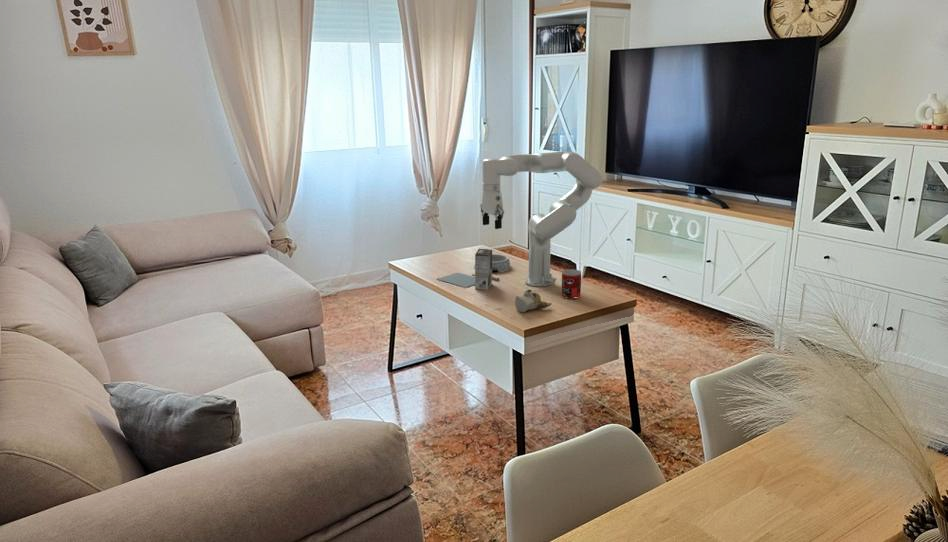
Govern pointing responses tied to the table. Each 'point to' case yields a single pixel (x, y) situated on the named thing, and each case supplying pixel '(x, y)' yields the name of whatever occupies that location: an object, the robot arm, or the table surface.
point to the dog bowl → (500, 263)
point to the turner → (492, 277)
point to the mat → (459, 279)
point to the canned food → (571, 283)
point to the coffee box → (483, 269)
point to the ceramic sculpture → (529, 302)
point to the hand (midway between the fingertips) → (492, 226)
